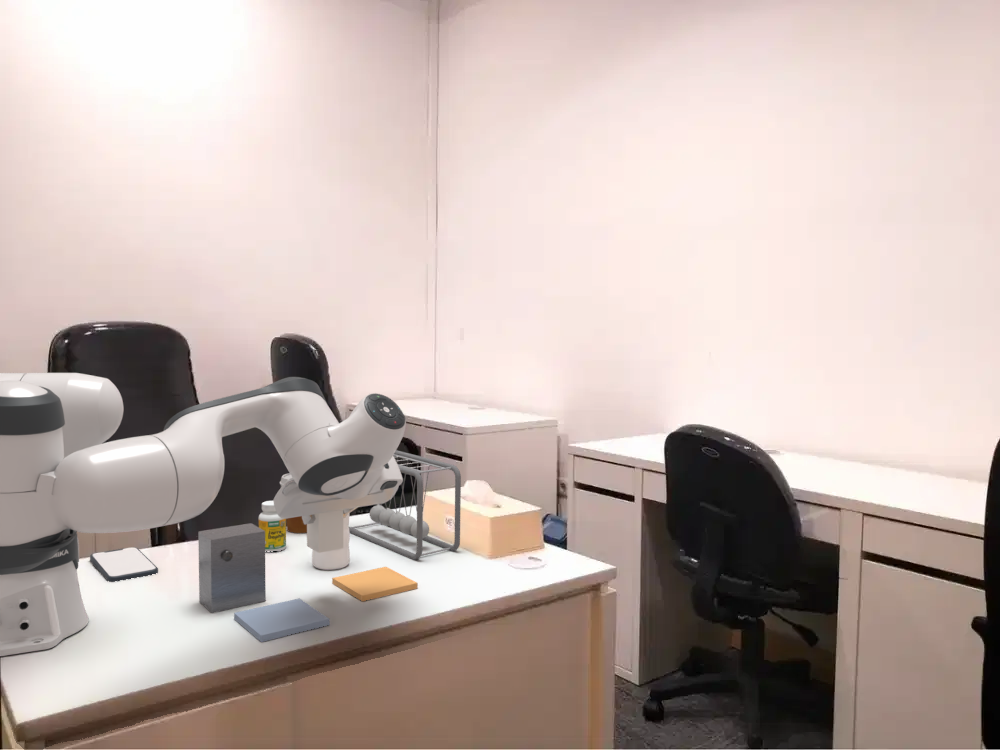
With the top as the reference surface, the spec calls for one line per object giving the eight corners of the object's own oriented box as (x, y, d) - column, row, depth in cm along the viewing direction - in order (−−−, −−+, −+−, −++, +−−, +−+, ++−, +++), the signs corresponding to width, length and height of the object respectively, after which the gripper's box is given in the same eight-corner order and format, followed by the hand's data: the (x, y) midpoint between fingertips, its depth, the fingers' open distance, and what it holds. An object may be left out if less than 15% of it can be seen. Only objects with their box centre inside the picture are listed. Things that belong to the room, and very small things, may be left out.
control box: (213, 614, 131) (211, 540, 130) (198, 601, 137) (197, 530, 136) (267, 602, 137) (266, 531, 136) (251, 590, 142) (250, 522, 141)
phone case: (160, 577, 150) (136, 553, 163) (160, 568, 150) (136, 545, 163) (108, 587, 145) (88, 561, 157) (108, 578, 145) (87, 553, 157)
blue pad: (261, 642, 121) (261, 635, 121) (234, 618, 129) (234, 612, 129) (329, 625, 128) (329, 618, 128) (299, 604, 136) (299, 598, 136)
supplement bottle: (278, 543, 170) (277, 498, 169) (291, 549, 166) (291, 503, 165) (253, 548, 166) (253, 502, 165) (267, 554, 162) (266, 507, 161)
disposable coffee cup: (284, 537, 174) (284, 482, 173) (276, 526, 183) (275, 473, 182) (328, 532, 178) (328, 478, 177) (318, 522, 187) (318, 470, 186)
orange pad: (362, 601, 138) (362, 595, 138) (332, 583, 146) (332, 577, 146) (417, 588, 145) (417, 582, 145) (385, 571, 153) (385, 566, 153)
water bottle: (354, 560, 160) (354, 433, 158) (343, 571, 153) (343, 439, 151) (318, 558, 160) (318, 432, 158) (307, 570, 154) (306, 438, 151)
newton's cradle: (461, 552, 166) (462, 466, 164) (418, 563, 159) (419, 472, 158) (380, 521, 188) (380, 445, 187) (340, 529, 182) (339, 450, 180)
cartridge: (318, 553, 135) (318, 499, 134) (306, 546, 139) (305, 494, 138) (344, 548, 138) (344, 495, 137) (331, 541, 142) (331, 490, 141)
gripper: (294, 496, 122) (269, 544, 131) (412, 479, 135) (382, 524, 143) (282, 461, 125) (258, 510, 134) (398, 448, 138) (369, 494, 146)
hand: (323, 517), depth 139 cm, fingers closed on cartridge, 4 cm apart
